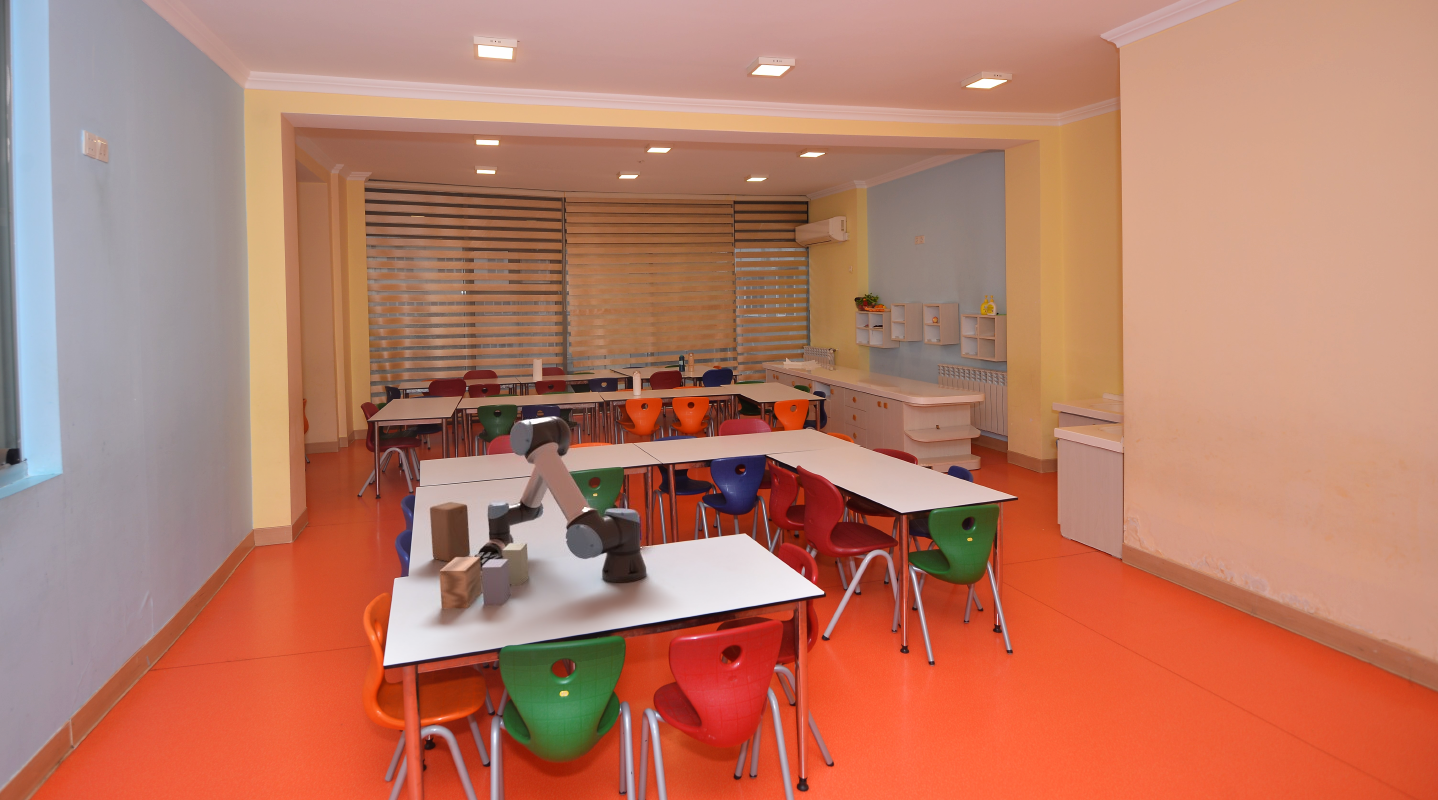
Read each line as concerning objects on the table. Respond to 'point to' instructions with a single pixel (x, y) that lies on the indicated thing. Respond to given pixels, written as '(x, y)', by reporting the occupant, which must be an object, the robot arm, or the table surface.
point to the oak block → (460, 582)
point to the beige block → (517, 562)
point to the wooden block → (449, 531)
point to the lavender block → (495, 582)
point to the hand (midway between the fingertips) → (469, 574)
